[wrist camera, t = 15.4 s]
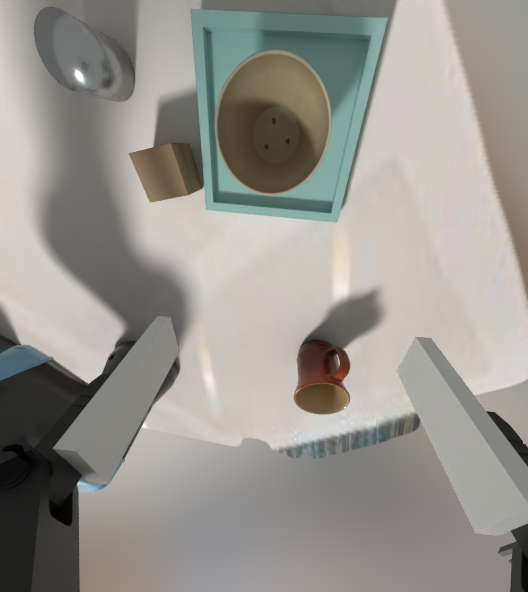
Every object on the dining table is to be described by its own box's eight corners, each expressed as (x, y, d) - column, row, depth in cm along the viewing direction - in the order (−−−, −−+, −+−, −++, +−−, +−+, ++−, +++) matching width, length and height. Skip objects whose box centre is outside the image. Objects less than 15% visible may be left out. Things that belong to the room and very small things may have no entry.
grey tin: (97, 100, 26) (51, 89, 21) (81, 35, 23) (22, 5, 18) (139, 103, 25) (102, 93, 20) (128, 38, 23) (81, 8, 18)
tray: (210, 206, 31) (206, 209, 29) (198, 19, 21) (190, 8, 20) (334, 218, 30) (337, 222, 28) (380, 28, 20) (387, 18, 19)
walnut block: (169, 194, 31) (149, 202, 27) (153, 152, 28) (128, 153, 24) (202, 188, 30) (188, 195, 26) (189, 143, 27) (170, 143, 23)
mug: (323, 370, 47) (330, 420, 39) (286, 356, 46) (284, 404, 38) (359, 334, 41) (376, 383, 32) (316, 316, 39) (322, 363, 31)
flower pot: (310, 191, 28) (315, 203, 22) (231, 178, 28) (214, 187, 22) (334, 81, 22) (349, 58, 16) (235, 67, 22) (213, 39, 16)
